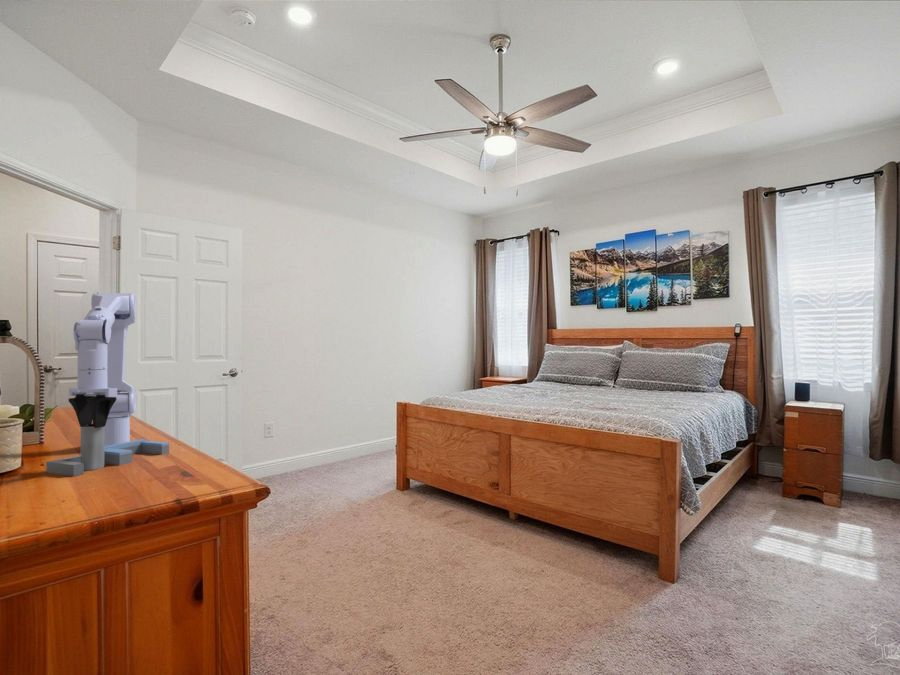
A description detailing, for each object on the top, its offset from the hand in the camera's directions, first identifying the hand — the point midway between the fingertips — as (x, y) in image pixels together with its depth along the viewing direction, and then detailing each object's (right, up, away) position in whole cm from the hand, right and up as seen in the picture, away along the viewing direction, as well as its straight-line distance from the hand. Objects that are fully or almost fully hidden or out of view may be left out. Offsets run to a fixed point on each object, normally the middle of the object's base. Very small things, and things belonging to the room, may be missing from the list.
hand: (92, 426), depth 112 cm
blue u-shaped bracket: (+3, -8, +10) cm, 13 cm away
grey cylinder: (0, -10, 0) cm, 10 cm away
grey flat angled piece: (+1, -10, +5) cm, 11 cm away
